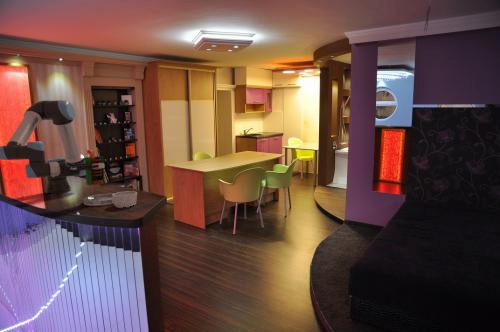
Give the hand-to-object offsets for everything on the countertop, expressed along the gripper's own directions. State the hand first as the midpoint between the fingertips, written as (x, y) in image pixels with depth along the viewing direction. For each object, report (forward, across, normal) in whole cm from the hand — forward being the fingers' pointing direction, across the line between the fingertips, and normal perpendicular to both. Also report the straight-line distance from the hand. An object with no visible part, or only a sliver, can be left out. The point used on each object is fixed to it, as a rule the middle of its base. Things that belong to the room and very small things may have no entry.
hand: (102, 164), depth 202 cm
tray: (-2, +1, -22) cm, 22 cm away
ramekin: (+6, +18, -22) cm, 30 cm away
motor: (-5, 0, -11) cm, 12 cm away
